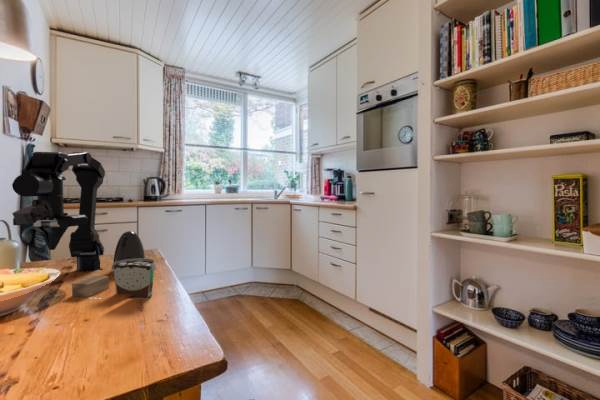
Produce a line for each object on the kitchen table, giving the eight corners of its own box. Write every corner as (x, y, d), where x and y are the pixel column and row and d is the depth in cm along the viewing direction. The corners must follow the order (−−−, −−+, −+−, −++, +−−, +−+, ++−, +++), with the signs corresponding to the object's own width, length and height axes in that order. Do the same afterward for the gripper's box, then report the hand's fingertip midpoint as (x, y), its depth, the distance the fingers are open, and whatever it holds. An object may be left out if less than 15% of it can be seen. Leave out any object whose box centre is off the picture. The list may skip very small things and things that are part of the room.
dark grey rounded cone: (107, 277, 99) (106, 233, 98) (121, 269, 109) (120, 229, 108) (139, 276, 100) (138, 233, 99) (150, 268, 110) (149, 228, 110)
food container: (165, 291, 86) (165, 258, 85) (153, 299, 80) (152, 263, 79) (126, 290, 87) (126, 257, 86) (111, 297, 81) (111, 262, 80)
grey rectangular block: (72, 295, 79) (71, 283, 79) (93, 287, 86) (93, 275, 86) (88, 296, 78) (88, 284, 78) (108, 288, 85) (108, 276, 85)
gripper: (-11, 196, 76) (-9, 255, 76) (50, 196, 73) (52, 257, 74) (33, 195, 87) (35, 246, 87) (88, 195, 84) (90, 248, 85)
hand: (52, 249), depth 83 cm, fingers closed
